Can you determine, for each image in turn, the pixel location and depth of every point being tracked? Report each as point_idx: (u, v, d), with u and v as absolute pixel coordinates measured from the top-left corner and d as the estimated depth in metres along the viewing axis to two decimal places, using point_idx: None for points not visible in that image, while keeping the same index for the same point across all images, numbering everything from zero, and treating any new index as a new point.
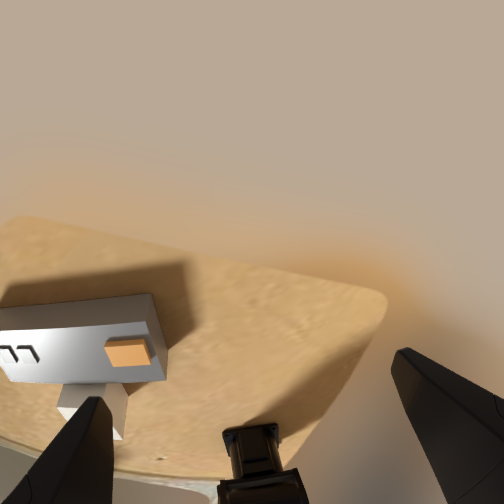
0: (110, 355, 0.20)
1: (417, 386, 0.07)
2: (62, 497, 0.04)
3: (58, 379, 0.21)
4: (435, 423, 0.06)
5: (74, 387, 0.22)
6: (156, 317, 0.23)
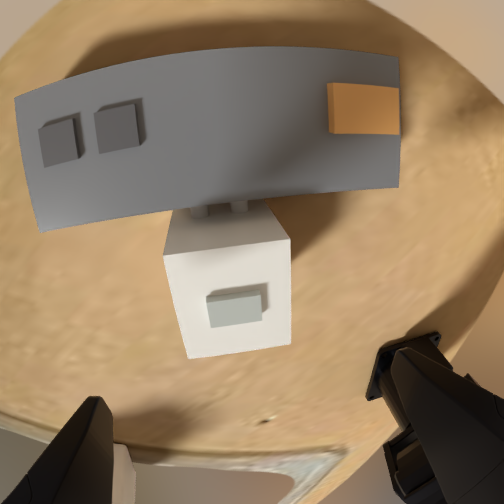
0: (339, 103, 0.11)
1: (417, 386, 0.07)
2: (62, 497, 0.04)
3: (173, 196, 0.12)
4: (435, 423, 0.06)
5: (199, 226, 0.13)
6: None
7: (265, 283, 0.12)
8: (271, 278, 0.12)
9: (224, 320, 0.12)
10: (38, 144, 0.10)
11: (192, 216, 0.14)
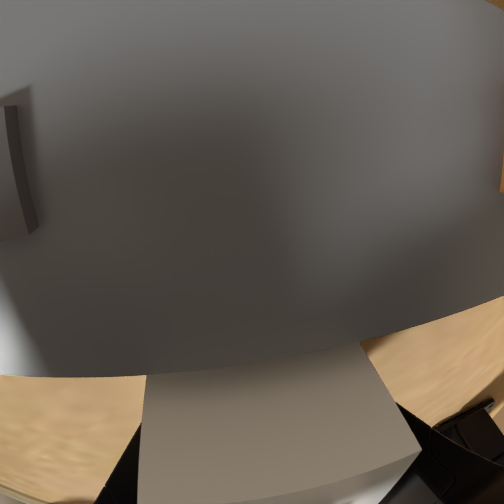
0: None
1: None
2: None
3: (143, 350, 0.04)
4: None
5: (209, 389, 0.06)
6: None
7: (349, 502, 0.04)
8: (363, 495, 0.04)
9: None
10: None
11: None
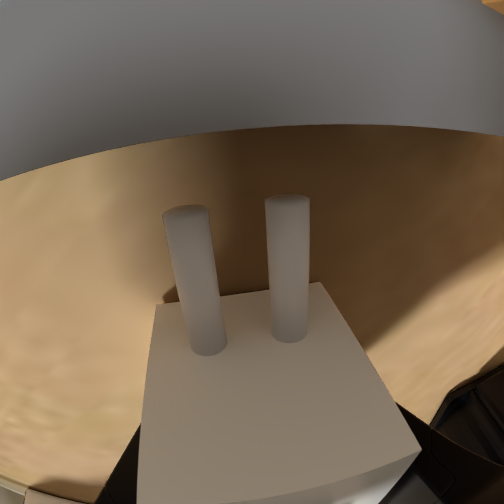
0: None
1: None
2: None
3: (76, 113, 0.03)
4: None
5: (209, 389, 0.06)
6: None
7: (349, 502, 0.04)
8: (362, 495, 0.04)
9: None
10: None
11: (193, 349, 0.06)
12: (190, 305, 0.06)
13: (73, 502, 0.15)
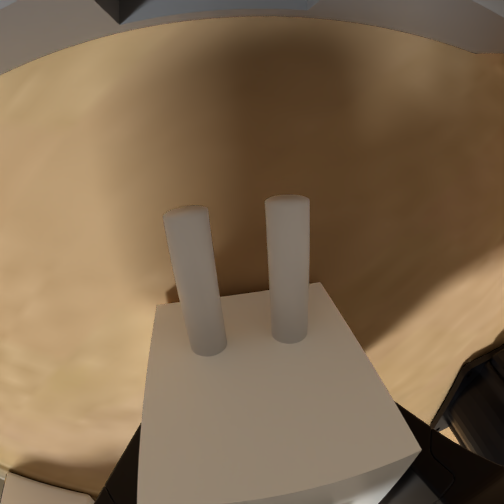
0: None
1: None
2: None
3: None
4: None
5: (209, 389, 0.06)
6: None
7: (349, 502, 0.04)
8: (362, 496, 0.04)
9: None
10: None
11: (193, 349, 0.06)
12: (190, 305, 0.06)
13: (55, 488, 0.13)
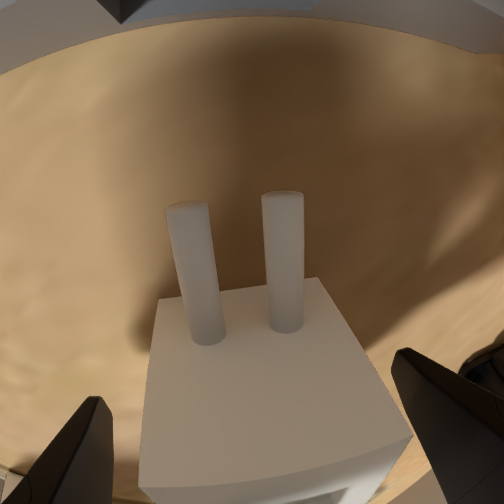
0: None
1: (417, 386, 0.07)
2: (62, 497, 0.04)
3: None
4: (435, 423, 0.06)
5: (209, 376, 0.06)
6: None
7: (345, 488, 0.05)
8: (357, 482, 0.05)
9: None
10: None
11: (193, 339, 0.07)
12: (191, 296, 0.06)
13: None
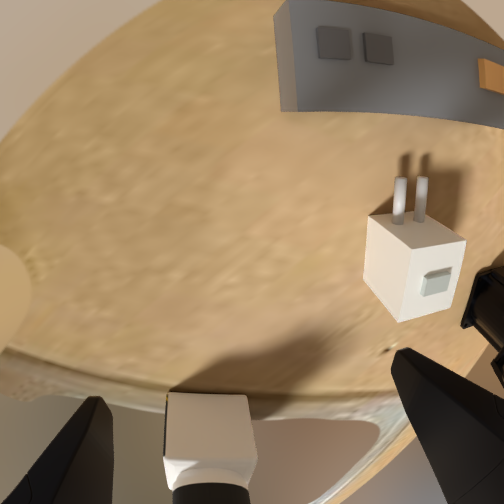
0: (487, 71, 0.13)
1: (417, 386, 0.07)
2: (62, 497, 0.04)
3: (407, 105, 0.14)
4: (435, 423, 0.06)
5: (407, 230, 0.18)
6: None
7: (451, 267, 0.17)
8: (454, 264, 0.16)
9: (431, 291, 0.17)
10: (311, 39, 0.12)
11: (395, 223, 0.19)
12: (400, 205, 0.18)
13: (217, 394, 0.25)
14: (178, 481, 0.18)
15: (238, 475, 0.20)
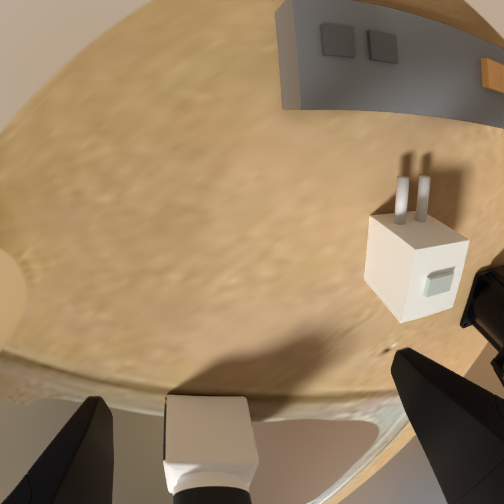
0: (489, 70, 0.12)
1: (417, 386, 0.07)
2: (62, 497, 0.04)
3: (411, 104, 0.14)
4: (435, 423, 0.06)
5: (410, 230, 0.17)
6: None
7: (453, 267, 0.16)
8: (456, 264, 0.16)
9: (434, 291, 0.16)
10: (315, 36, 0.12)
11: (397, 223, 0.18)
12: (402, 204, 0.18)
13: (216, 396, 0.25)
14: (179, 485, 0.18)
15: (239, 478, 0.20)
